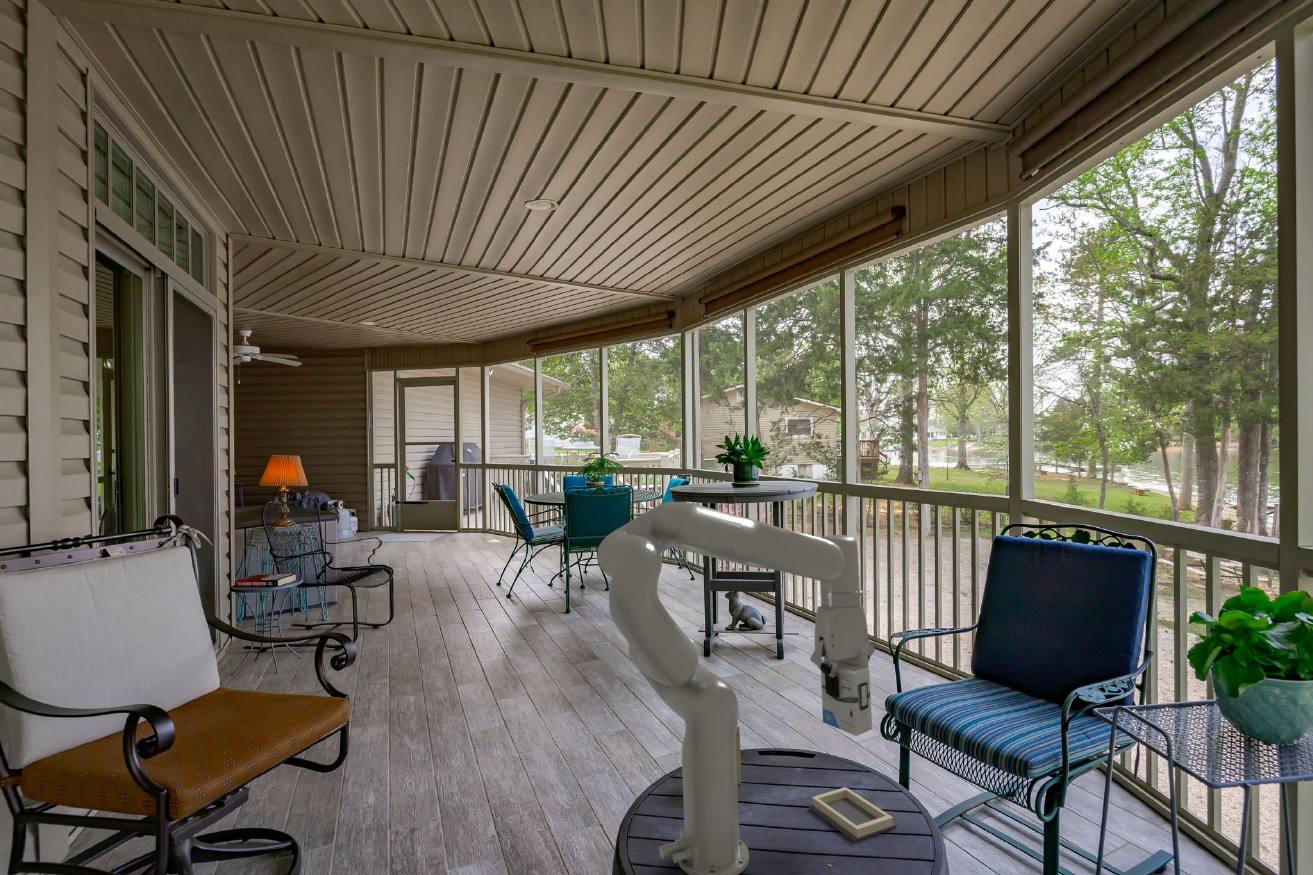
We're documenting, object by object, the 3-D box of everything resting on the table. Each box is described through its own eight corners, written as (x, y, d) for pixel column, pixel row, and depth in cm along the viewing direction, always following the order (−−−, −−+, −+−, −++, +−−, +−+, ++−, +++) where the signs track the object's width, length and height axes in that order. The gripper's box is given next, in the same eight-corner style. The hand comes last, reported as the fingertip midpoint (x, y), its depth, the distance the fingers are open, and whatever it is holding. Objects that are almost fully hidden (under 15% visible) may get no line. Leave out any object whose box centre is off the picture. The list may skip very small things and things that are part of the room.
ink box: (821, 722, 126) (817, 647, 127) (838, 716, 129) (834, 642, 130) (856, 736, 119) (852, 656, 120) (873, 730, 122) (869, 651, 123)
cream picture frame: (854, 841, 115) (854, 830, 115) (809, 808, 127) (808, 797, 127) (896, 827, 119) (896, 816, 119) (849, 796, 131) (848, 786, 131)
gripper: (861, 591, 132) (865, 680, 131) (792, 600, 125) (797, 695, 124) (887, 597, 125) (893, 691, 125) (817, 607, 118) (822, 707, 117)
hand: (845, 692), depth 124 cm, fingers closed on ink box, 5 cm apart
